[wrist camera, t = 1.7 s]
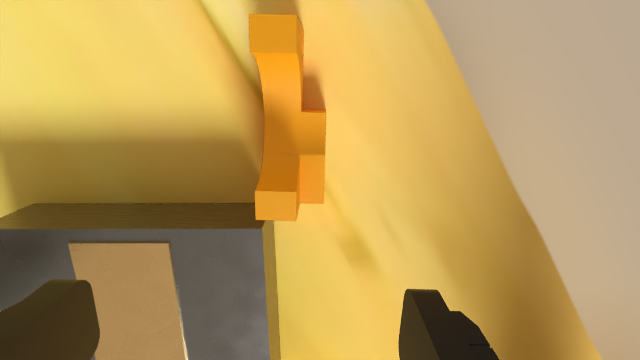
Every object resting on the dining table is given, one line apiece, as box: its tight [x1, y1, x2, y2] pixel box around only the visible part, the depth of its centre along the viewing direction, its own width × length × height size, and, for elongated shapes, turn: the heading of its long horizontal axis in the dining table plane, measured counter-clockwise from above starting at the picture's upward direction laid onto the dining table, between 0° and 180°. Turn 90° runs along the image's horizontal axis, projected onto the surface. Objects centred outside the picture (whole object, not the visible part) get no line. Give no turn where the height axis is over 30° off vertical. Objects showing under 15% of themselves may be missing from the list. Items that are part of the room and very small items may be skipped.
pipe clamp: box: [249, 14, 326, 221], centre depth 23 cm, size 12×4×6 cm, turn 179°
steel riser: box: [0, 203, 281, 360], centre depth 28 cm, size 20×16×5 cm
